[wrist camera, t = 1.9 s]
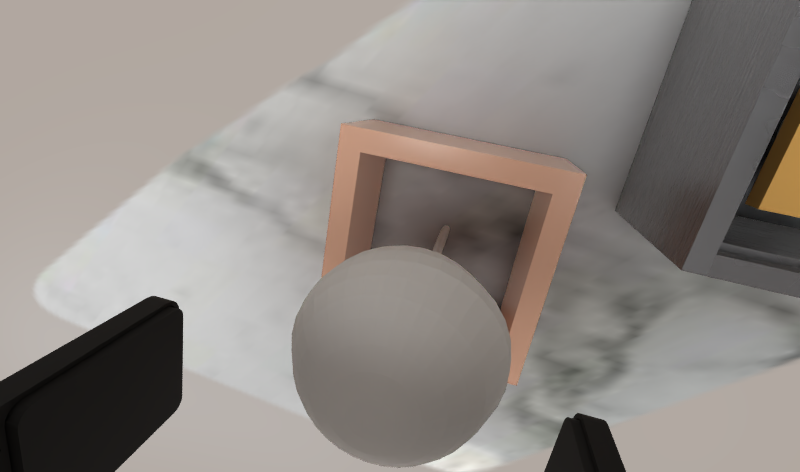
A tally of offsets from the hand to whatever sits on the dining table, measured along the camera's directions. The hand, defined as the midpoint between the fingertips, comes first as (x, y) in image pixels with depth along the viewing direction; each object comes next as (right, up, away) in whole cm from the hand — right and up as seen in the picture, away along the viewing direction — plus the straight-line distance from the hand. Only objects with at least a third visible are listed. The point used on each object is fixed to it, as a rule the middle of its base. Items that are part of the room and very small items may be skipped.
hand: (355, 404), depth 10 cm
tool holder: (+4, +4, +13) cm, 14 cm away
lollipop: (+4, +4, +13) cm, 15 cm away
